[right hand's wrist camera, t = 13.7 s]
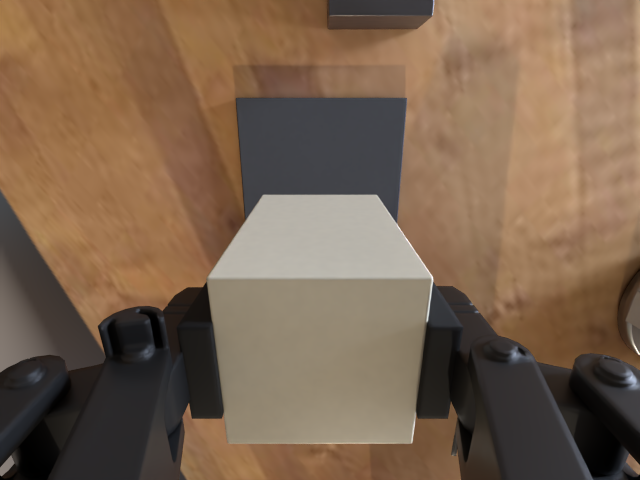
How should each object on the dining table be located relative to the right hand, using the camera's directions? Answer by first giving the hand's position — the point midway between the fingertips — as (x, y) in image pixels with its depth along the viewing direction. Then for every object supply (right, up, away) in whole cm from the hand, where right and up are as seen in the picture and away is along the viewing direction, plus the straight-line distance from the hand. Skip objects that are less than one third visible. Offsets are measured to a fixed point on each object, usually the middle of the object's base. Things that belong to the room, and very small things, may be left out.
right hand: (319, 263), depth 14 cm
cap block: (0, +1, +2) cm, 2 cm away
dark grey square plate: (0, +6, +17) cm, 18 cm away
